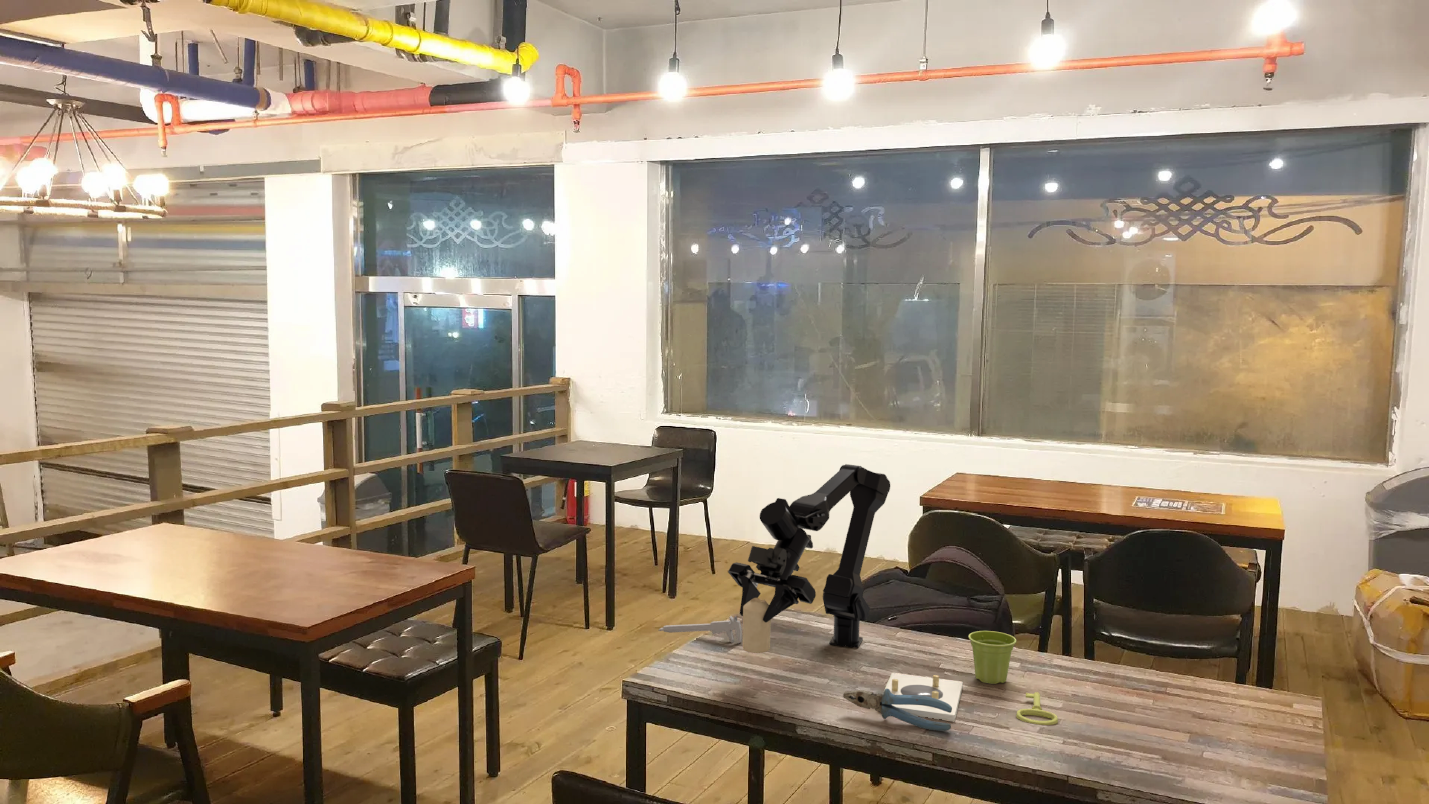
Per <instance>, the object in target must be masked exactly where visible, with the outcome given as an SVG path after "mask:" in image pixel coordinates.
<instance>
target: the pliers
mask: <svg viewBox="0 0 1429 804" xmlns="http://www.w3.org/2000/svg"><path fill="white" fill-rule="evenodd" d="M842 696H843V697H842V698H843V699H845V700H847V701H848V702H851V703H852V704H853V705H855V706H857V707H859V708H863V709H867V710H870V709H872V710H874V711H878V712H880V713H881V718H883V719H884V720H887V718H888V717H893V718H895V719H898V720H900V721H902V722H905V723H907V724H910V725H912V726H915V727H918V728H920V729H924V730H928V729H929V731H935V730H936V731H938V732H948V731H949V730H951V729H952V725H951V723H947V722H940V721H934V720H929V719H927V718H926V719H925V718H924V717H918V716H915V715H913V714H910V713H908V712H906V711H904V710H902V709H899V708H897V707H895V706H893V705H923V706H929V707H934V708H937V709H941V710H943V711H946V712H949V713H951V711H952V707H951V706H950V705H949V704H948V703H946V702H943V701H941V700H938V699H935V698H931V697H927V696H920V695H894V694H892V693H891V692H890V690H889V689H885V688H884V690H883V693H874V692H873V691H869V690H864V689H857V690H847V691H845V692H843V695H842ZM936 731H935V732H936Z"/></svg>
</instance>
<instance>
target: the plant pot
mask: <svg viewBox="0 0 1429 804" xmlns="http://www.w3.org/2000/svg"><path fill="white" fill-rule="evenodd" d="M968 639H969V641H970V645H971V647H972V654H973V655H972V656H973V663H974V665H973V667H974V673H975V679H976V680H979V681H980V682H982V683H984V684H990V685H995V684H996V685H997V684H999V683H1002V684H1004V683H1005V682H1007V680H1008V673H1009V667H1010V661H1011V656H1012V652H1013V650H1014V646H1015V644H1017V639H1016V638H1015V636H1013V635H1011V634H1007V633H1005V632H999V631H993V630H992V631H991V630H979V631H978V630H977V631H973V632H971V633H969V634H968Z"/></svg>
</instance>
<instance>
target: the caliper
mask: <svg viewBox="0 0 1429 804" xmlns="http://www.w3.org/2000/svg"><path fill="white" fill-rule="evenodd" d="M734 630H735V636H736V641H737V644H740V643H741V642H743V627H742V624H741V620H738V616H737V615H735V616H734V617H733V616H732V615H730V616H729V620H719V621H717V620H716V621H714V620H713V621H711V622H710V623H690V624H688V623H687V624H671V625H663V627H660V628H659V629H658V631H659V632H664V633H686V632H687V633H688V632H689V633H690V632H711V634H712V635H716V634H717V635H720V634H722V633H724V632H725V634H726V636H727V638H728V641H729V642H730V643H731V644H733V643H734V642H735V636H734Z"/></svg>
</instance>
